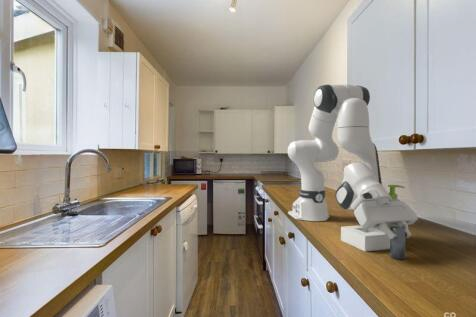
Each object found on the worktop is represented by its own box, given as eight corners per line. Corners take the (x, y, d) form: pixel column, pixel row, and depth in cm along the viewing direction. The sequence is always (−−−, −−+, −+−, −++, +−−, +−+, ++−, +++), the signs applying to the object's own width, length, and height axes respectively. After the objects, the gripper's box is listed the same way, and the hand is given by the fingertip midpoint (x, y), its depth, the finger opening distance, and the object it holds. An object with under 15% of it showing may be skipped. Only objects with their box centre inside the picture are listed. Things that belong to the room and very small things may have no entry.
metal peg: (387, 255, 83) (386, 226, 83) (397, 254, 84) (397, 225, 84) (397, 260, 79) (397, 229, 79) (408, 259, 80) (408, 228, 80)
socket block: (340, 240, 98) (341, 226, 98) (368, 237, 101) (368, 224, 101) (364, 251, 86) (364, 236, 86) (394, 248, 90) (394, 233, 90)
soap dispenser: (404, 240, 98) (407, 186, 97) (385, 239, 99) (387, 185, 98) (397, 235, 104) (400, 184, 103) (378, 234, 105) (381, 183, 104)
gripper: (394, 204, 95) (420, 239, 85) (346, 206, 89) (368, 245, 80) (406, 193, 90) (434, 229, 81) (355, 195, 85) (379, 234, 75)
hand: (401, 237), depth 80 cm, fingers closed on metal peg, 4 cm apart
